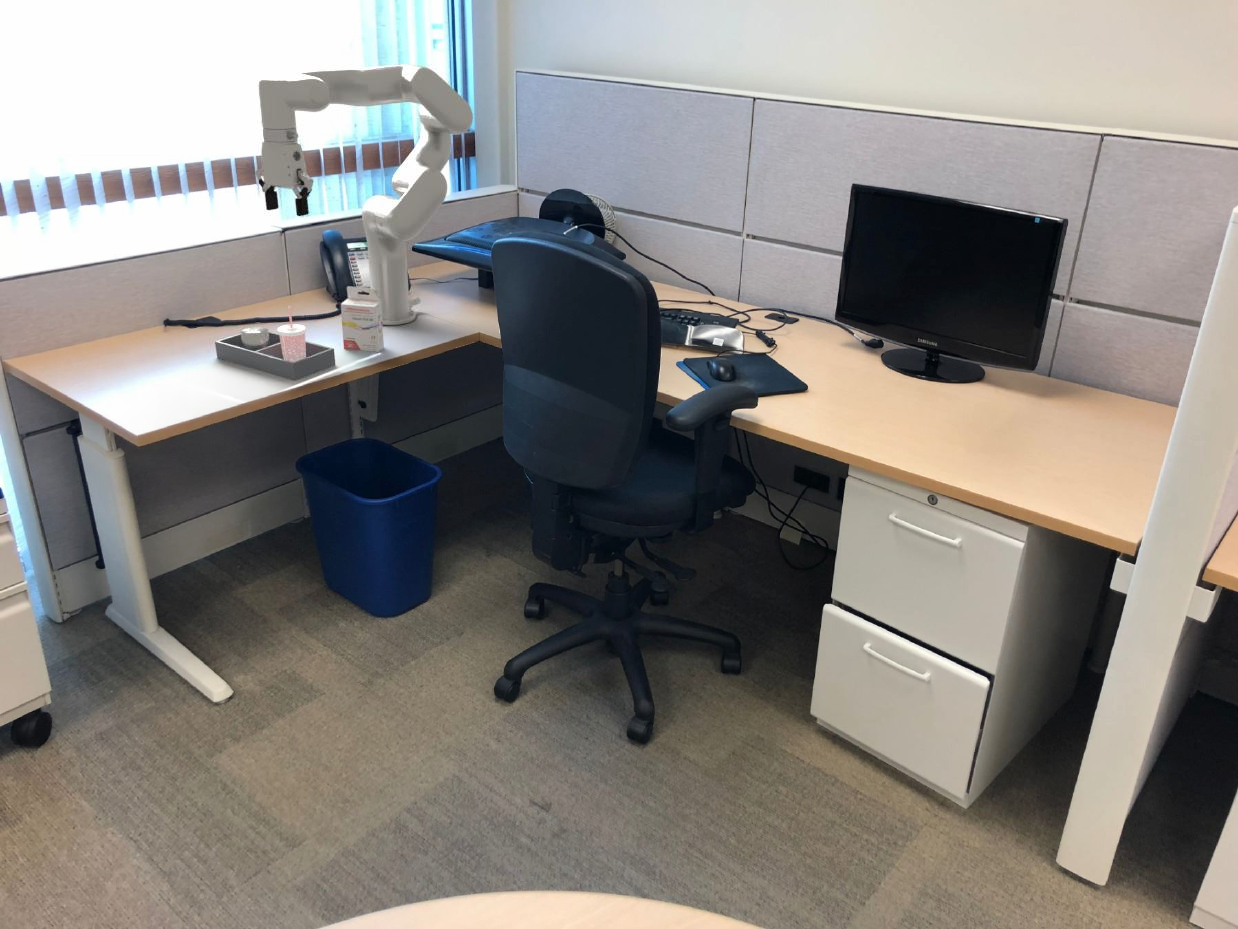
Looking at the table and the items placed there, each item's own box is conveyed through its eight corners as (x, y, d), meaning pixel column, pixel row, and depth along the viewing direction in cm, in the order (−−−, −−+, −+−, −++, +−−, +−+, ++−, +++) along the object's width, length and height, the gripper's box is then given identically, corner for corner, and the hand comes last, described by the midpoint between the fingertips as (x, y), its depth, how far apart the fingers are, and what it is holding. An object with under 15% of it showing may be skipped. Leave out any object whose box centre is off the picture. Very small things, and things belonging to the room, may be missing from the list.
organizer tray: (259, 346, 238) (256, 327, 236) (335, 367, 228) (334, 348, 226) (217, 360, 229) (214, 341, 227) (295, 383, 218) (293, 363, 216)
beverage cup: (315, 365, 226) (309, 305, 220) (294, 373, 222) (288, 312, 215) (296, 359, 229) (290, 300, 223) (275, 367, 224) (268, 307, 218)
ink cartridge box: (343, 351, 237) (338, 291, 231) (350, 344, 242) (345, 285, 235) (378, 354, 237) (374, 293, 230) (384, 347, 241) (381, 287, 235)
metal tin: (258, 349, 234) (255, 325, 231) (276, 355, 231) (273, 330, 229) (238, 356, 229) (234, 331, 227) (256, 362, 227) (253, 336, 224)
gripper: (320, 138, 224) (326, 214, 232) (265, 130, 232) (273, 204, 239) (295, 141, 218) (302, 220, 226) (239, 133, 226) (248, 209, 233)
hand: (287, 212), depth 233 cm, fingers open, 9 cm apart
